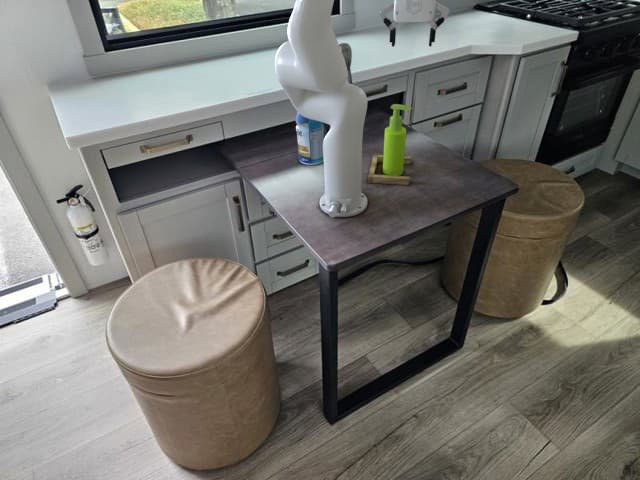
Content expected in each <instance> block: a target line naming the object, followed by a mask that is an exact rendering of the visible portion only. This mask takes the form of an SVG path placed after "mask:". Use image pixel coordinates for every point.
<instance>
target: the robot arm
mask: <svg viewBox="0 0 640 480" xmlns="http://www.w3.org/2000/svg"><path fill="white" fill-rule="evenodd" d="M334 2H335V0H296V1H295V3H294V7H293V10H292V12H291V15H290V17H289V20H288V25H287V29H286V30H287V31H286V32H287V38H288V40H287V41H285V42H283V43H282V44H281V45H280V46H279V48H278V49H277V51H276V54H275V57H274V58H275V59H274V69H275V74H276V78H277V80H278V83H279V84H280V86H281V88H282V89H283V91H284V93H285V94H286V96H287V98H288V99H289V101H290V103H291V104H292V106H293V108H294V109H295V111H296V112H297V114H298V113H299V114H300V115H302V116H303V117H305V118H308V119H312V120H316V121H320V122H322V123H323V124H329V132H328V133H327V135H326V134H325V135H324V141H323V158H324V161H323V178H324V179H323V181H324V193H323V195H322V196H321V197H320V199H319V207H320V209H321V211H323V212H324V213H325V214H327V215H328V217H330V218H335V217H336V218H337V217H338V218H347V217H354V216H357V215H359V214H361V213H363V212H364V211H365V210H366V209H367V207H368V198H367V196H366V195H365V194H364V193H363V191H362V185H363V183H362V181H363V136H364V127H365V126H364V125H365V120H366V115H367V110H368V102H369V101H368V97H367V93H366V92H365V91H364V90H363V89H362V88H361V87H359V86H358V85H355V84H354V83H352V84H349V83H348V78H347V76H348V72H347V66H346V63H345V59H344V57H343V54H342V52H341V49H340V47H339V44H340V43H339V42H338V39H337V37H336V34H335V32H334V28H333V25H332V12H333V6H334ZM436 10H437V11H439V12H440V13H441V15H440V17H438V19H437V20H435V14H436ZM391 11H393V20H392V21H391V19H390V18H389V17H388V15H387V14H389V13H390V12H391ZM449 13H450V9H449V8H448V7H446V6H445V5H443V4H441V3H439V2H437V1H436V0H394V1H393V2H392V3H390V4H389V5H387V6H386V7H384V8H383V9H381V10H380V11H379V15H380V17H381V20H382V22H383V24H384V25H385V26H386V27H387V28H388V30H389V43H391V47H392V48H393V47H395V46H396V37H397V35H396V34H397V28H396V26H397V25H398V24H427V23H428V24H429V26H430V29H429V38H428V39H429V41H428V47H430V48H431V47H432V46H433V43H436V33H437V29H438V28H439V27H440V26H441V25H442V24H444V22H445V20H446V19H447V17H448V15H449Z"/></svg>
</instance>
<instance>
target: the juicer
mask: <svg viewBox="0 0 640 480" xmlns="http://www.w3.org/2000/svg"><path fill="white" fill-rule="evenodd" d="M338 44H339V47H340V49H341V52H342V54H343V57H344V59H345V63H346V66H347V72H348V76H347V83H349V84H353V77H352V70H351V66H352V60H353V50H352V47H351V45H350V44H349V43H347V42H341V43H338ZM325 124H326V123H325ZM325 126H326V127H325V130H326V131H325V136H326V135H327V133H328V132H329V130H330V125H329V124H326V125H325Z"/></svg>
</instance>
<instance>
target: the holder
mask: <svg viewBox="0 0 640 480" xmlns="http://www.w3.org/2000/svg"><path fill="white" fill-rule="evenodd" d="M372 155H373V156H372V160H371V163H370V167H369V172H368V176H367V183H369V184H383V185H384V184H385V185H400V186H409V185H410V176H407V175H405V176H404V175H400V176H391V175H385V174H376V171H377V167H378V163H379V164H383V157H384V154H374V153H373V154H372ZM411 163H412V156H409V155H407V156H406V155H404V165H411Z"/></svg>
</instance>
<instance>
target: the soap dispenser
mask: <svg viewBox="0 0 640 480" xmlns="http://www.w3.org/2000/svg"><path fill="white" fill-rule="evenodd" d="M390 109H391V110H392V111H393V112H392V113H393V114H392V115H391V116H390V117H389V126H387V127H385V128H384V134H383V135H384V136H383V137H384V138H383V155H384V157H383V163H382V173H383V175H391V176H403V173H404V166H405V164H404V156H405V150H406V141H407V140H406V139H407V128H406V127H404V126H403V116H402V115H400V114H401V111H405V112H410V111H411V110H412V109H413V107H411V106H408V105H405V104H400V103H399V104H398V103H393V104H392V105H390Z"/></svg>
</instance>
